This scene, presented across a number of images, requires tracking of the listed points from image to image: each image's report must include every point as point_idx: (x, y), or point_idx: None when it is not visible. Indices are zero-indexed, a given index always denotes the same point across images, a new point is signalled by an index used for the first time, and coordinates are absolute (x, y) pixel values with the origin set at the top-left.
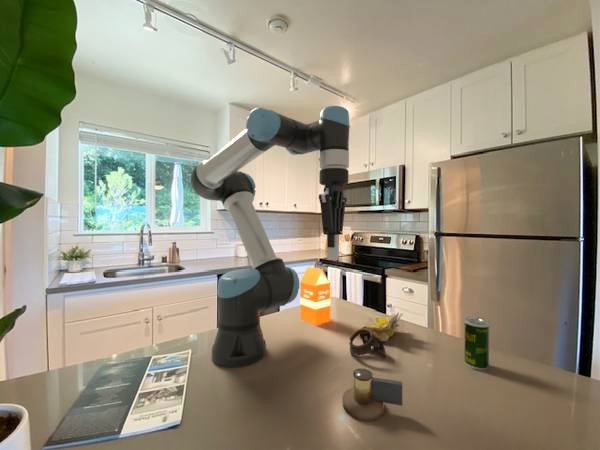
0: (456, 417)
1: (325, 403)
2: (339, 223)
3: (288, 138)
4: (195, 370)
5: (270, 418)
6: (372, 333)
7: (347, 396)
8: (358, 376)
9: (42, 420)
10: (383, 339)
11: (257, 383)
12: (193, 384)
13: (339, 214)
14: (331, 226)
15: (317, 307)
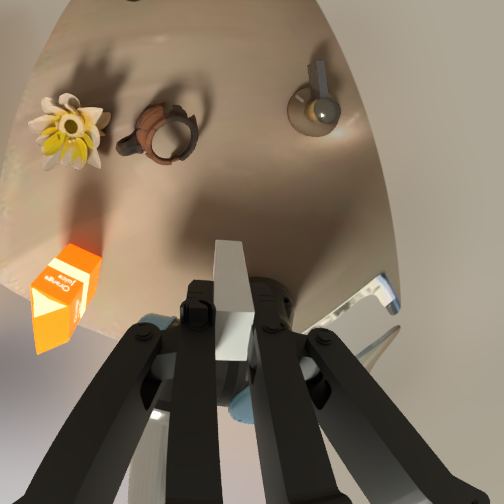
0: (286, 15)
1: (321, 156)
2: (192, 377)
3: None
4: (307, 322)
5: (360, 205)
6: (165, 119)
7: (316, 131)
8: (337, 115)
9: (384, 347)
10: (107, 119)
11: (311, 250)
12: (331, 306)
13: (193, 451)
14: (350, 356)
15: (84, 274)
